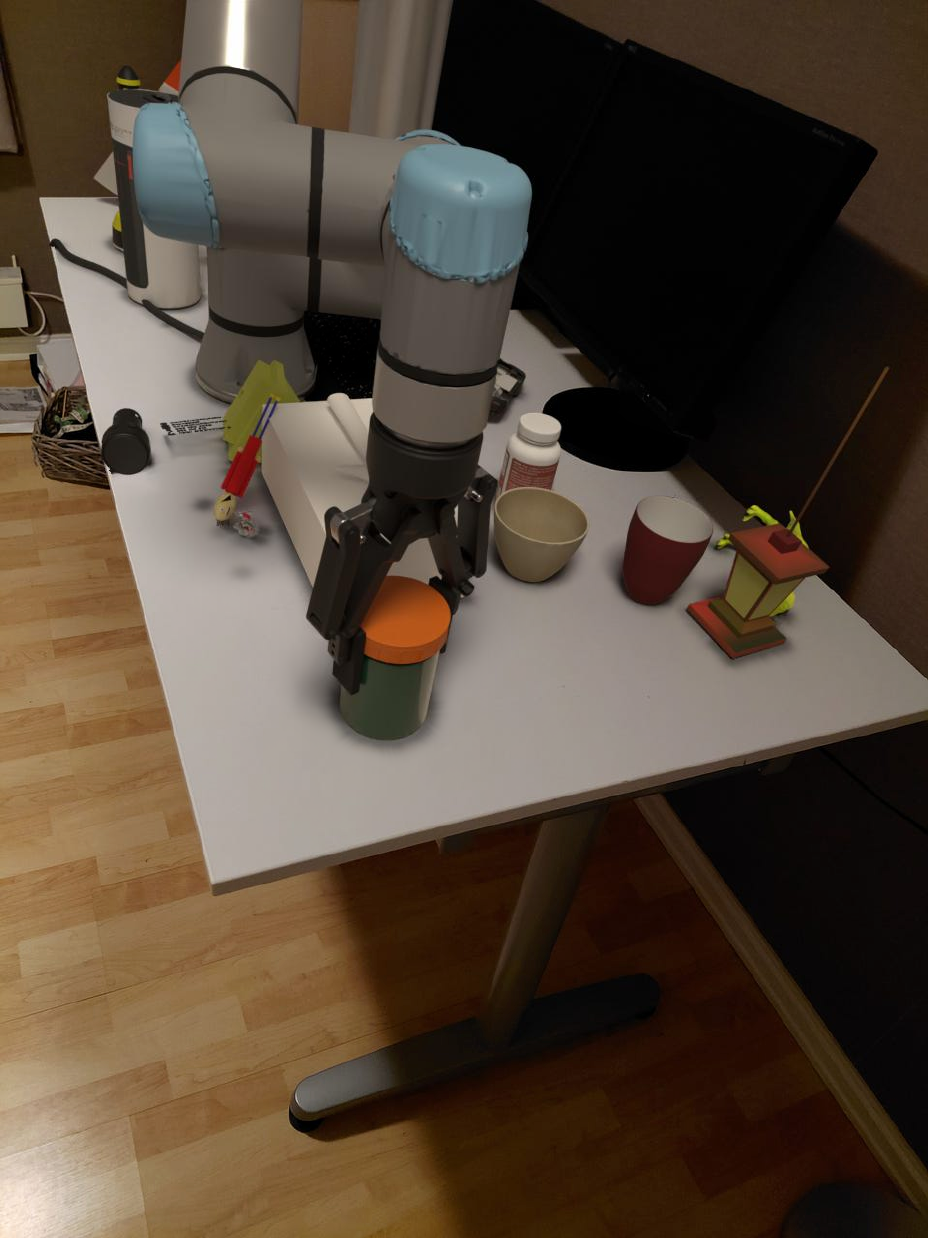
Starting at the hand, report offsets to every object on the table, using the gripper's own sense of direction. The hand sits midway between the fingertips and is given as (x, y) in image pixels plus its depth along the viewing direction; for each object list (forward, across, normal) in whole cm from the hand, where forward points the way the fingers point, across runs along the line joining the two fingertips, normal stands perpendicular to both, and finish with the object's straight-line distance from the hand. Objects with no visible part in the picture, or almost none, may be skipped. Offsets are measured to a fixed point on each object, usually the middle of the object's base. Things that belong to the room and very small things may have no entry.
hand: (390, 662), depth 70 cm
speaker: (+6, -19, -83) cm, 85 cm away
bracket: (-1, -9, -41) cm, 42 cm away
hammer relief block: (+5, -12, -22) cm, 25 cm away
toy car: (+1, -46, -38) cm, 60 cm away
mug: (+6, -35, +2) cm, 35 cm away
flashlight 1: (+5, -24, -101) cm, 104 cm away
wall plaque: (+7, -31, -116) cm, 120 cm away
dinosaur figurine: (+6, -52, +1) cm, 52 cm away
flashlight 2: (+5, -2, -48) cm, 49 cm away
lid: (-6, 0, 0) cm, 6 cm away
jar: (+5, 0, 0) cm, 5 cm away
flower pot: (+6, -25, -8) cm, 27 cm away
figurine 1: (-3, -10, -37) cm, 38 cm away
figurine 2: (+5, -1, -27) cm, 27 cm away
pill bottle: (+6, -32, -17) cm, 37 cm away
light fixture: (+5, -38, +10) cm, 40 cm away
